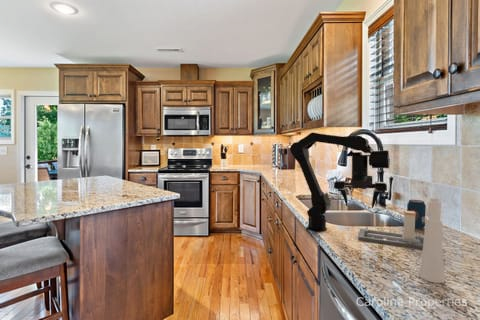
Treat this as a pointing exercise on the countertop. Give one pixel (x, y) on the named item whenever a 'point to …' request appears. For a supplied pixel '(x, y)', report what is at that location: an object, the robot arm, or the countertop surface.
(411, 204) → the soda can
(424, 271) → the cosmetic bottle
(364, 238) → the grey slider track
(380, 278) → the countertop surface
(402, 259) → the countertop surface
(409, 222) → the fader
